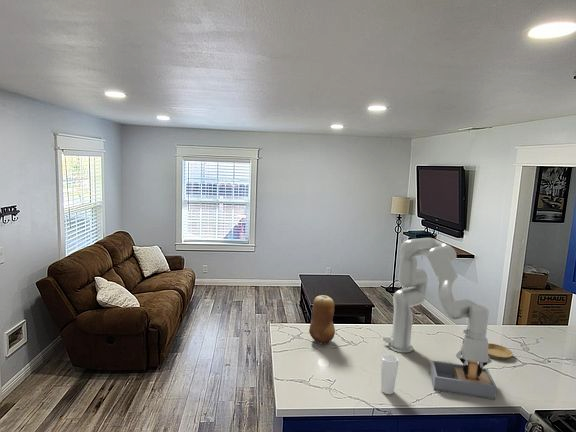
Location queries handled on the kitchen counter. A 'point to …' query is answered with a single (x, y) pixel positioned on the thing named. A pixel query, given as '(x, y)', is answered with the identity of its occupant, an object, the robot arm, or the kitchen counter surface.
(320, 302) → the butternut squash
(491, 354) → the plant saucer
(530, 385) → the kitchen counter surface
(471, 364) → the peg
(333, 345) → the kitchen counter surface
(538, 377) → the kitchen counter surface
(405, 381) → the kitchen counter surface
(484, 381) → the box
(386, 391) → the drinking glass
